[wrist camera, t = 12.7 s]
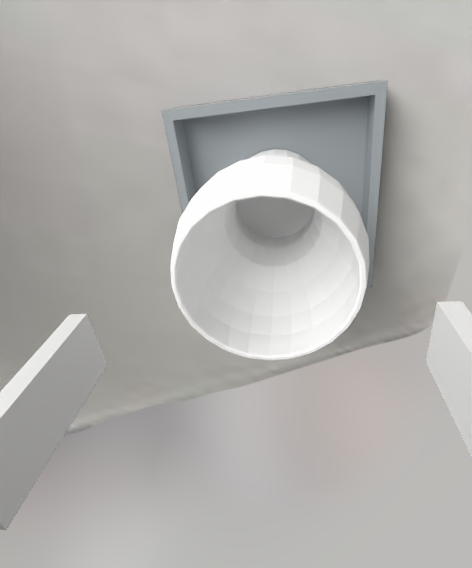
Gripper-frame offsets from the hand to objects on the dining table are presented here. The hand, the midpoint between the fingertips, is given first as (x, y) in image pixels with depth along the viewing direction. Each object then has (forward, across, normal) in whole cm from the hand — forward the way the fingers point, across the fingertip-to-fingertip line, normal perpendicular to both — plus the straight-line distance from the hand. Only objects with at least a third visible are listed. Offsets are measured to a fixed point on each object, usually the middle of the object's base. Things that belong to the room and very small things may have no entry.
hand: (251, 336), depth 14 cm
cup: (+19, 0, 0) cm, 19 cm away
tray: (+20, +1, 0) cm, 20 cm away
